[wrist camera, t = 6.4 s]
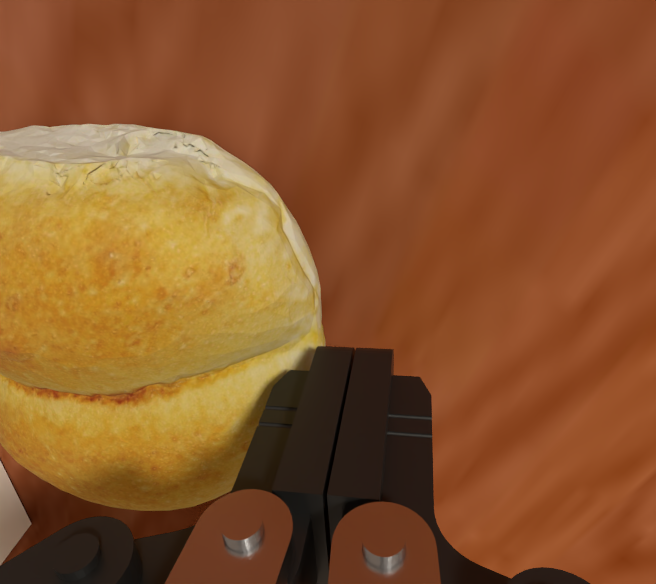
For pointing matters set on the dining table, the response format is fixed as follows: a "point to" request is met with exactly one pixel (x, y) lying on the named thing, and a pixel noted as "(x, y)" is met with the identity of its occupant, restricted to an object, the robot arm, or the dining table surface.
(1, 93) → the dining table surface
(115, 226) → the bread roll
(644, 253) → the dining table surface
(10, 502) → the bench stop
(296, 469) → the robot arm
